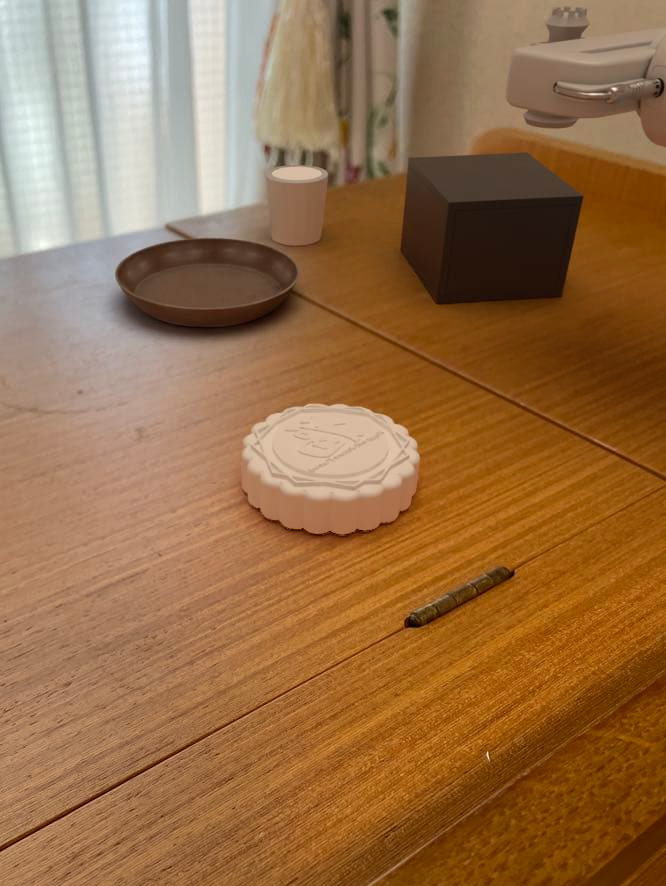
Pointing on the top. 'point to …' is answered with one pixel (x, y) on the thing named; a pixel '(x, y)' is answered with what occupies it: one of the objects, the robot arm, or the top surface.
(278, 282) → the plant saucer
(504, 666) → the top surface
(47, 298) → the top surface
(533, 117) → the rook chess piece
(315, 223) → the pale pink cup
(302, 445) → the mooncake
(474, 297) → the cabinet
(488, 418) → the top surface
